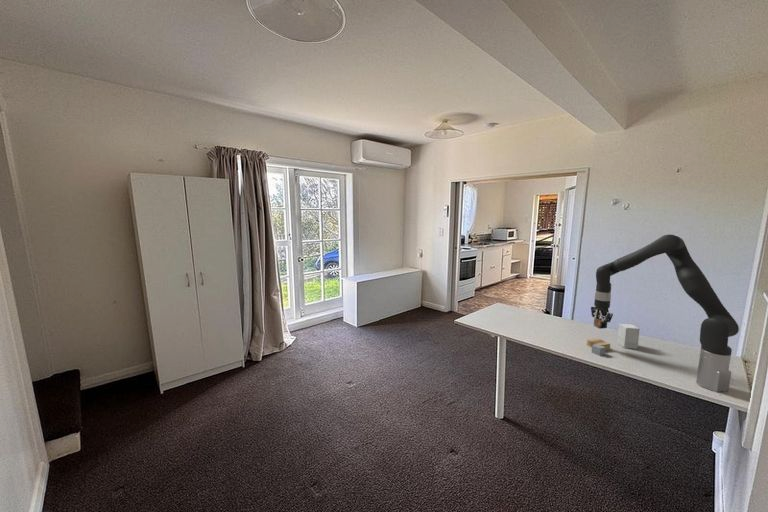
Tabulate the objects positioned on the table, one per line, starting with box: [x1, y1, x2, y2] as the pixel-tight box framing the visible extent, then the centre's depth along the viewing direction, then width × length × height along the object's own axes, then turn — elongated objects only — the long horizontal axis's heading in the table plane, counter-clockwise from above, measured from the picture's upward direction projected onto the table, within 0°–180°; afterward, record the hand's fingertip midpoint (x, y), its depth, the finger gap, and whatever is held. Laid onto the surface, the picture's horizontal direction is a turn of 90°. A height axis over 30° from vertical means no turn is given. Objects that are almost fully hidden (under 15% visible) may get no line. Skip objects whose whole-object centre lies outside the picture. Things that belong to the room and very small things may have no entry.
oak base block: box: [586, 337, 611, 351], centre depth 178 cm, size 8×8×4 cm
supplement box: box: [616, 323, 640, 350], centre depth 179 cm, size 7×7×13 cm
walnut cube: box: [593, 317, 608, 330], centre depth 176 cm, size 4×4×4 cm
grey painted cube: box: [591, 344, 606, 357], centre depth 170 cm, size 4×4×4 cm
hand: (600, 326), depth 176 cm, fingers closed on walnut cube, 4 cm apart
